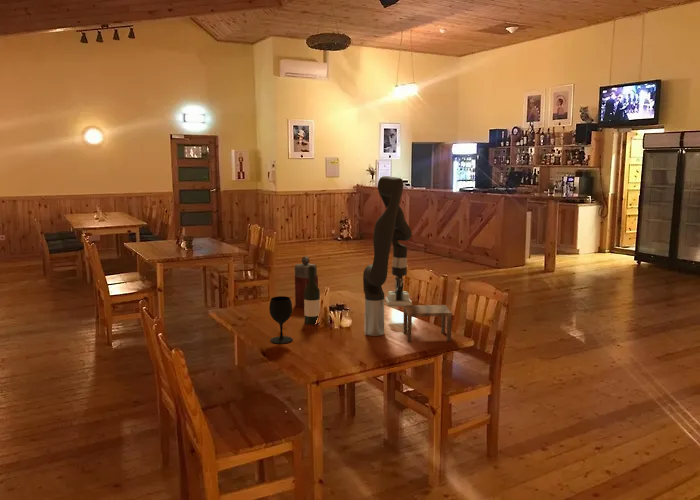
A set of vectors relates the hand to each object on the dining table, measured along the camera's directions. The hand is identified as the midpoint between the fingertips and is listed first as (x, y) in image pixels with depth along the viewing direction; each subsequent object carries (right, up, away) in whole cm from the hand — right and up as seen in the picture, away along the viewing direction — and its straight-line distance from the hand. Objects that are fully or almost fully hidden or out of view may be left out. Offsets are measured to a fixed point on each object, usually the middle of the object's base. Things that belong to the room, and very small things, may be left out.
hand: (398, 298), depth 297 cm
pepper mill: (-49, -6, +35) cm, 60 cm away
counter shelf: (+11, -16, -23) cm, 31 cm away
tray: (0, -3, +1) cm, 3 cm away
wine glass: (-56, -17, -28) cm, 65 cm away
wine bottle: (-44, -12, 0) cm, 46 cm away
